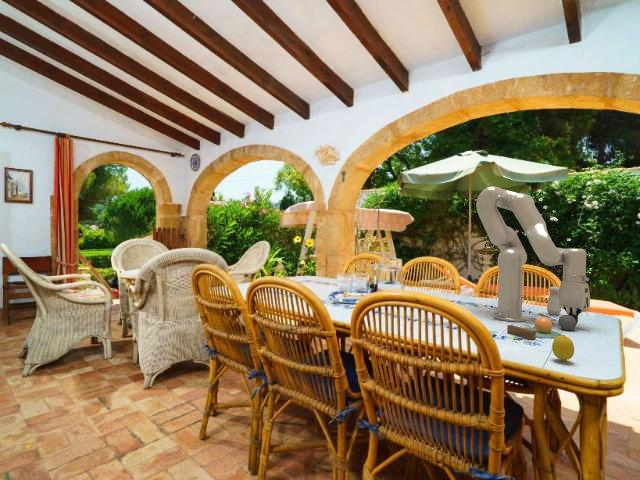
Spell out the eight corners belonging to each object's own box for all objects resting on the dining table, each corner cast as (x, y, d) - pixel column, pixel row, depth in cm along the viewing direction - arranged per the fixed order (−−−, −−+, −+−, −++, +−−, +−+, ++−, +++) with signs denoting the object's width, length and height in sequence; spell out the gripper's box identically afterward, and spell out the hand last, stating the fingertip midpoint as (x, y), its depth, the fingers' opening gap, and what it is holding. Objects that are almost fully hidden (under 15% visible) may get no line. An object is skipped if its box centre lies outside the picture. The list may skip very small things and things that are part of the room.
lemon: (577, 365, 107) (578, 338, 106) (556, 363, 108) (557, 336, 107) (568, 359, 112) (569, 332, 112) (548, 357, 113) (549, 331, 113)
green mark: (546, 340, 132) (546, 339, 132) (511, 330, 144) (511, 329, 144) (570, 335, 137) (570, 335, 137) (535, 326, 150) (535, 326, 150)
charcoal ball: (580, 321, 146) (573, 334, 145) (564, 315, 150) (557, 328, 150) (577, 316, 142) (570, 329, 141) (560, 310, 147) (553, 323, 146)
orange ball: (558, 324, 141) (551, 337, 139) (542, 320, 146) (536, 333, 144) (551, 315, 138) (544, 329, 137) (535, 312, 144) (528, 325, 142)
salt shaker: (564, 315, 171) (564, 287, 171) (551, 315, 171) (552, 287, 171) (556, 313, 177) (556, 286, 177) (544, 312, 177) (544, 285, 177)
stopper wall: (532, 340, 131) (532, 331, 131) (507, 333, 140) (507, 325, 140) (535, 339, 132) (536, 331, 132) (510, 332, 141) (511, 324, 141)
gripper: (600, 281, 144) (598, 327, 144) (561, 276, 157) (559, 319, 158) (588, 281, 141) (587, 329, 141) (549, 277, 154) (548, 320, 154)
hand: (572, 324), depth 149 cm, fingers closed
